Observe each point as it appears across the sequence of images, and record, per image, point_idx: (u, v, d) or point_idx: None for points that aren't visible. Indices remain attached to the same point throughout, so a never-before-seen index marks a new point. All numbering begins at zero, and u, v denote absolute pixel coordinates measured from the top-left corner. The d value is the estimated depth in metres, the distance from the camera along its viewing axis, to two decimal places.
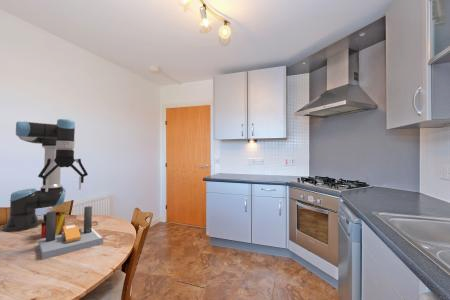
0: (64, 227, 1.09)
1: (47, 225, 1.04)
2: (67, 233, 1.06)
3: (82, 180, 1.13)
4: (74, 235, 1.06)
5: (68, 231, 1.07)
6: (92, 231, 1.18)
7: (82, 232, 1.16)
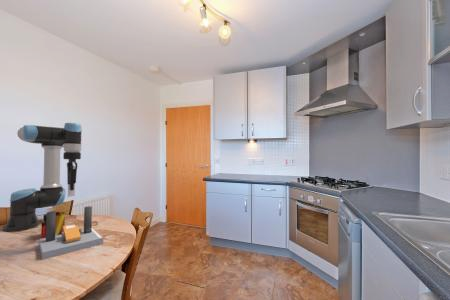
0: (64, 227, 1.09)
1: (47, 225, 1.04)
2: (67, 233, 1.06)
3: (70, 187, 1.10)
4: (74, 235, 1.06)
5: (68, 231, 1.07)
6: (92, 231, 1.18)
7: (82, 232, 1.16)
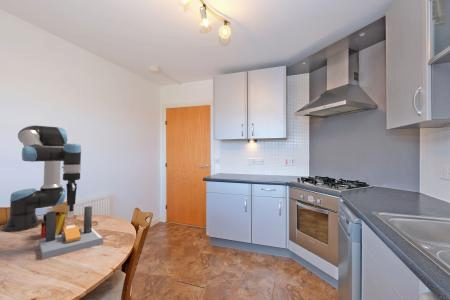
0: (64, 227, 1.09)
1: (47, 225, 1.04)
2: (67, 233, 1.06)
3: (69, 208, 1.10)
4: (74, 235, 1.06)
5: (68, 231, 1.07)
6: (92, 231, 1.18)
7: (82, 232, 1.16)
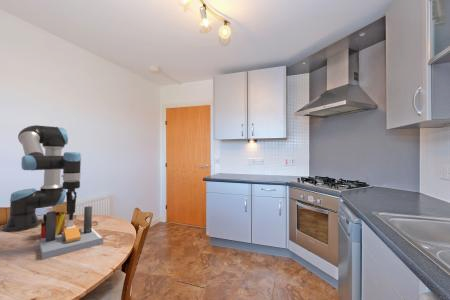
0: (64, 227, 1.09)
1: (47, 225, 1.04)
2: (67, 233, 1.06)
3: (69, 217, 1.10)
4: (74, 235, 1.06)
5: (68, 231, 1.07)
6: (92, 231, 1.18)
7: (82, 232, 1.16)
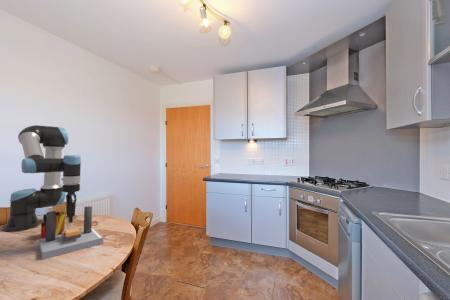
0: (64, 231, 1.10)
1: (47, 225, 1.04)
2: (67, 232, 1.06)
3: (69, 220, 1.10)
4: (74, 231, 1.06)
5: (68, 231, 1.08)
6: (92, 231, 1.18)
7: (82, 232, 1.16)
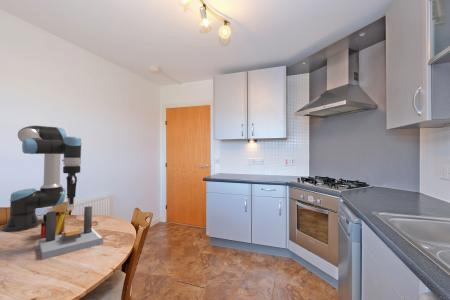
0: None
1: (47, 225, 1.04)
2: None
3: (69, 201, 1.10)
4: (74, 230, 1.06)
5: (68, 231, 1.08)
6: (92, 231, 1.18)
7: (82, 232, 1.16)
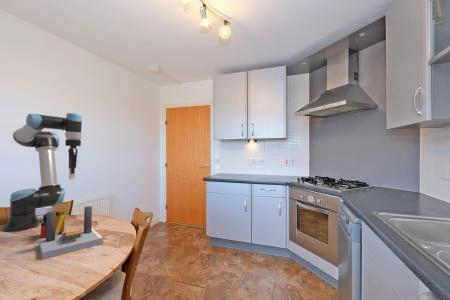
0: None
1: (47, 225, 1.04)
2: None
3: (71, 171, 1.23)
4: (74, 230, 1.06)
5: (68, 231, 1.08)
6: (92, 231, 1.18)
7: (82, 232, 1.16)
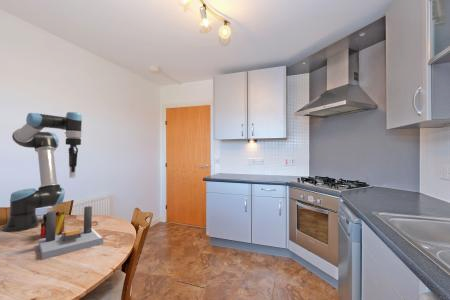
0: None
1: (47, 225, 1.04)
2: None
3: (71, 169, 1.24)
4: (74, 230, 1.06)
5: (68, 231, 1.08)
6: (92, 231, 1.18)
7: (82, 232, 1.16)
